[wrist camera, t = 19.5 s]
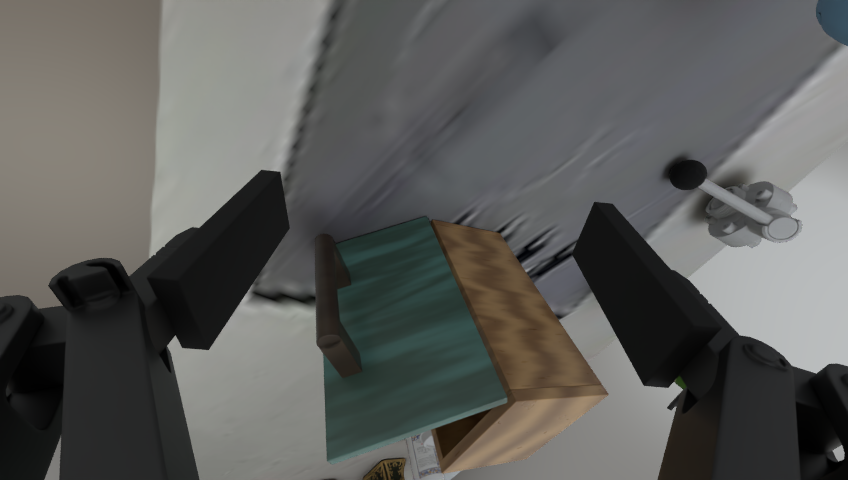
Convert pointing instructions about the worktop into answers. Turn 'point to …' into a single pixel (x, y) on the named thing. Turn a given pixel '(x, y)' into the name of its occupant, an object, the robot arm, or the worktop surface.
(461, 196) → the worktop surface
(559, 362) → the cabinet
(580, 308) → the worktop surface
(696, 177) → the mechanical valve
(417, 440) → the bath foam
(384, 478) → the decorative box
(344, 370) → the door
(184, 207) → the worktop surface
